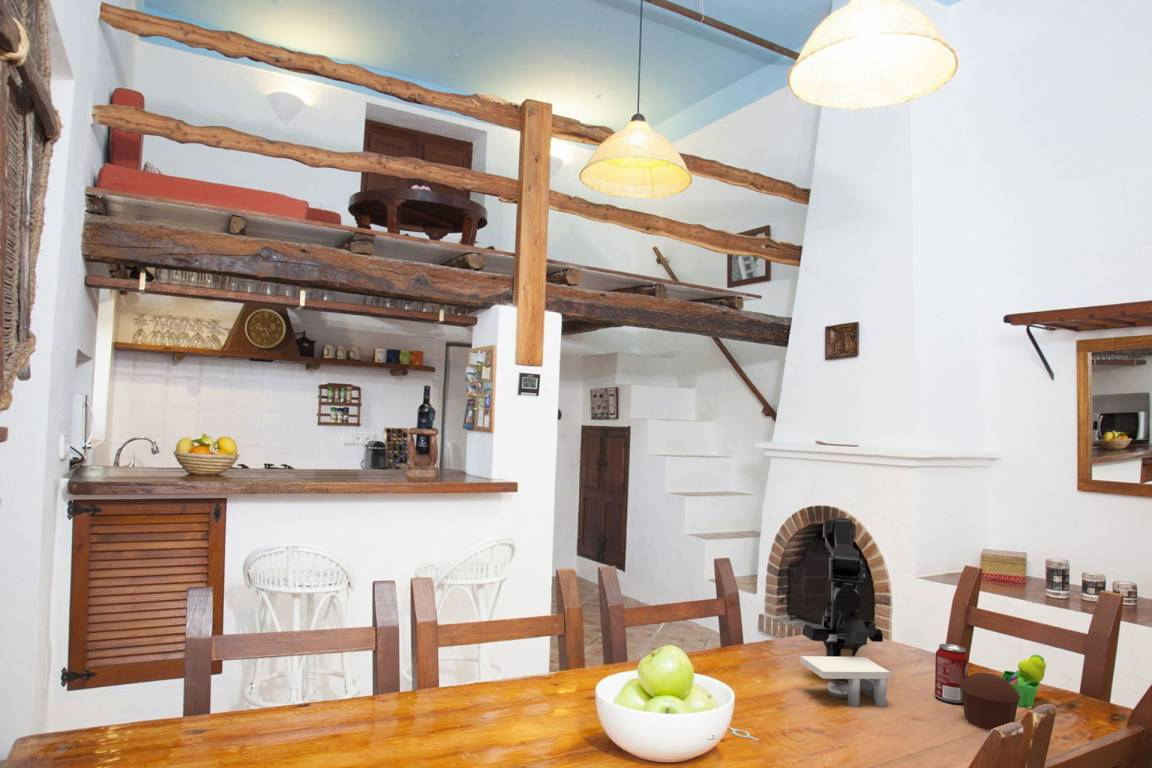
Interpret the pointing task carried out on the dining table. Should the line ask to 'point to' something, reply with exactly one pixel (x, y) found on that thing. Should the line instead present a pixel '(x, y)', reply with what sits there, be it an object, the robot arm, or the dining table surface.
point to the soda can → (950, 672)
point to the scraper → (865, 684)
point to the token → (837, 689)
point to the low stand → (850, 674)
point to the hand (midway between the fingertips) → (841, 668)
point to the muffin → (988, 700)
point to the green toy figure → (1027, 679)
